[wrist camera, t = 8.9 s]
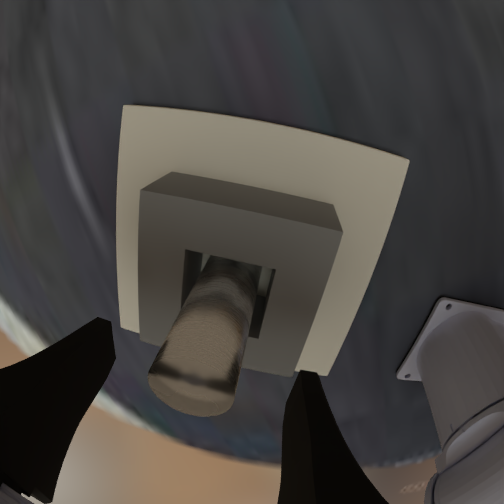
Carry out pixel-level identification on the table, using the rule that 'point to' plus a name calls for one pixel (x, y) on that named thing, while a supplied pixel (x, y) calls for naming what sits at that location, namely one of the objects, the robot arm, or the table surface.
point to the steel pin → (208, 340)
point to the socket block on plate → (251, 226)
